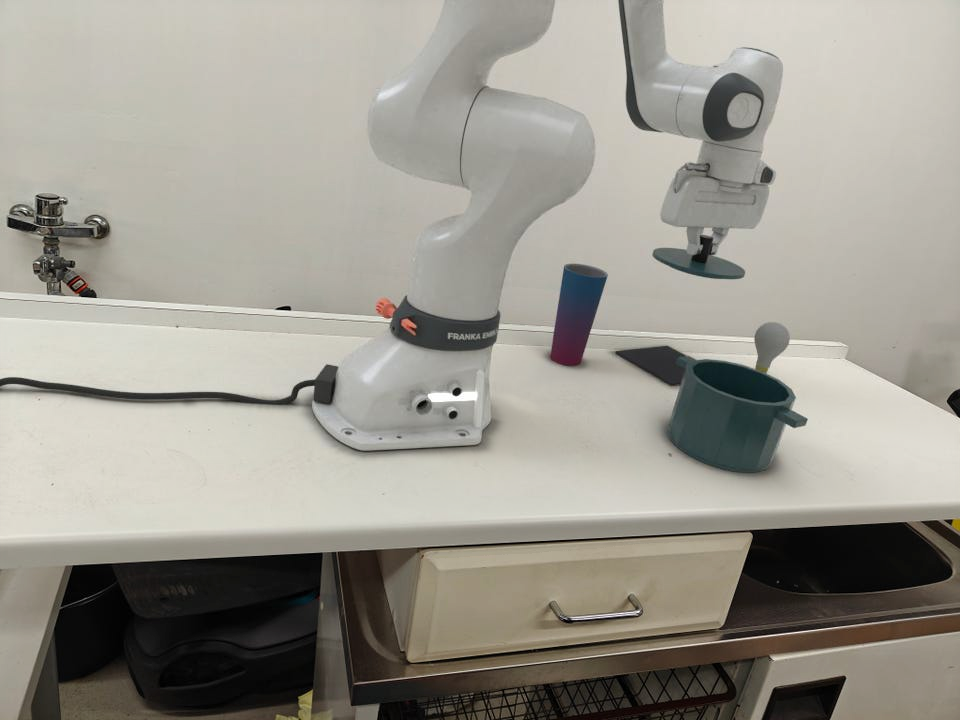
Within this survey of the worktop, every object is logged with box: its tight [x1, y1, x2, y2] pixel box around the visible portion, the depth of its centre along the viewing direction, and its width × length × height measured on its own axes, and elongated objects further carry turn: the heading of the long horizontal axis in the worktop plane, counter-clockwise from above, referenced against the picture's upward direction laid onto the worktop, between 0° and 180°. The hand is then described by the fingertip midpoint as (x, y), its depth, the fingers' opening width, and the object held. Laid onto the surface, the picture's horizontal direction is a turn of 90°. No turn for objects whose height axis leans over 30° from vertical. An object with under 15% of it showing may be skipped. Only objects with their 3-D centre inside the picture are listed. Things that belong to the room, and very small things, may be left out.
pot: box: [667, 355, 809, 474], centre depth 94 cm, size 14×19×10 cm
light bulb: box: [753, 321, 791, 374], centre depth 121 cm, size 6×6×10 cm
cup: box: [549, 263, 609, 367], centre depth 113 cm, size 7×7×15 cm
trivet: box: [614, 345, 687, 387], centre depth 121 cm, size 13×13×1 cm
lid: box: [651, 234, 746, 280], centre depth 114 cm, size 15×15×5 cm
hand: (700, 254), depth 114 cm, fingers closed on lid, 2 cm apart
